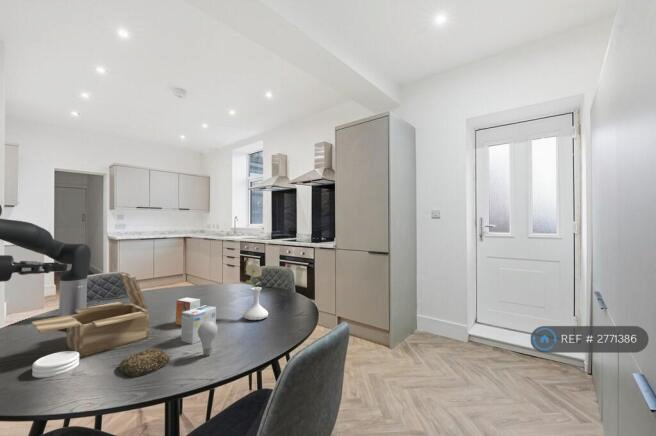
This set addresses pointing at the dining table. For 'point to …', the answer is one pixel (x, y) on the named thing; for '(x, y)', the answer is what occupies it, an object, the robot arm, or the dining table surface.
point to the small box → (185, 307)
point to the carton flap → (133, 290)
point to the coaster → (55, 364)
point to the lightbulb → (207, 335)
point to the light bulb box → (196, 322)
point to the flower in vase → (255, 310)
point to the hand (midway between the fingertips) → (62, 266)
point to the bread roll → (144, 362)
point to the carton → (100, 327)
